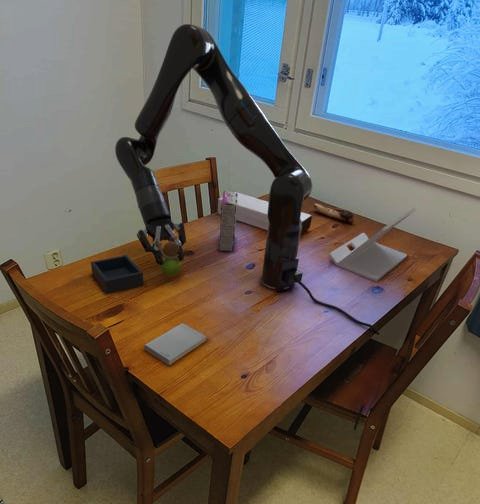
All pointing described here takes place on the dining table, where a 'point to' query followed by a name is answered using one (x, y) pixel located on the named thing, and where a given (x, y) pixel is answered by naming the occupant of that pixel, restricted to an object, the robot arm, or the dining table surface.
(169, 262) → the snail figurine
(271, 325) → the dining table surface
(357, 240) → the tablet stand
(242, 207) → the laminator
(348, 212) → the wooden log
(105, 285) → the holder
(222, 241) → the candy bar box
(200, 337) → the hard drive
